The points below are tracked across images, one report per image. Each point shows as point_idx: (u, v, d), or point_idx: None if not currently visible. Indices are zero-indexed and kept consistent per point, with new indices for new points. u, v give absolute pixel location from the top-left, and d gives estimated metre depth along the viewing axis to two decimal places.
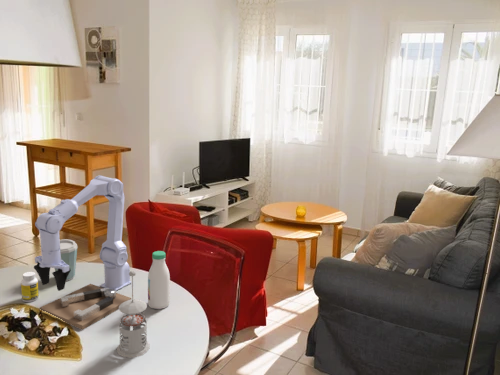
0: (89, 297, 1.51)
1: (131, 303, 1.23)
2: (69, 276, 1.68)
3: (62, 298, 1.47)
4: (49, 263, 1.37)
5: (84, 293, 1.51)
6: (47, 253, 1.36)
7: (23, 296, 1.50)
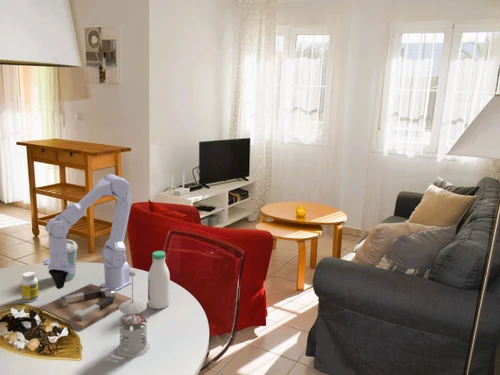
0: (89, 297, 1.51)
1: (131, 303, 1.23)
2: (69, 276, 1.68)
3: (62, 298, 1.47)
4: (57, 265, 1.47)
5: (84, 293, 1.51)
6: (55, 256, 1.46)
7: (23, 296, 1.50)
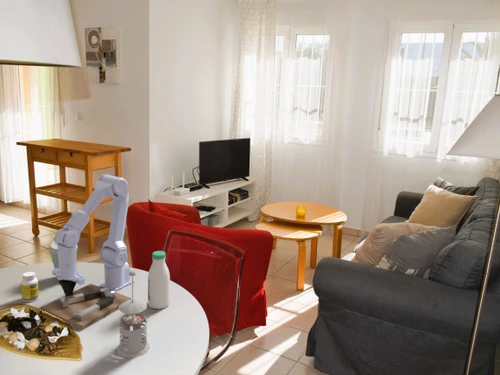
0: (89, 297, 1.51)
1: (131, 303, 1.23)
2: None
3: (62, 299, 1.46)
4: (66, 275, 1.45)
5: (84, 294, 1.50)
6: (64, 266, 1.44)
7: (23, 296, 1.50)
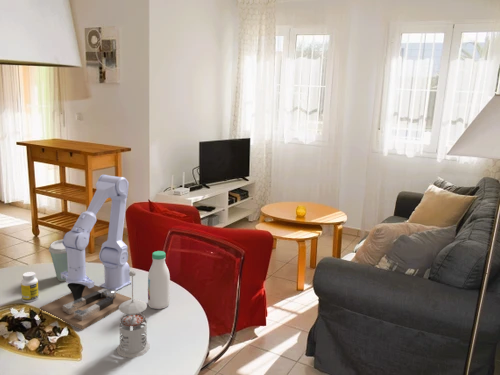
0: (90, 301, 1.49)
1: (131, 303, 1.23)
2: None
3: (66, 306, 1.42)
4: (75, 279, 1.43)
5: (85, 297, 1.48)
6: (73, 269, 1.42)
7: (23, 296, 1.50)
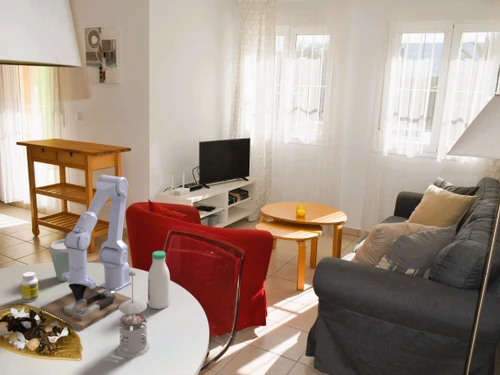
0: (91, 301, 1.48)
1: (131, 303, 1.23)
2: None
3: (68, 307, 1.41)
4: (77, 279, 1.43)
5: (85, 298, 1.47)
6: (75, 270, 1.42)
7: (23, 296, 1.50)
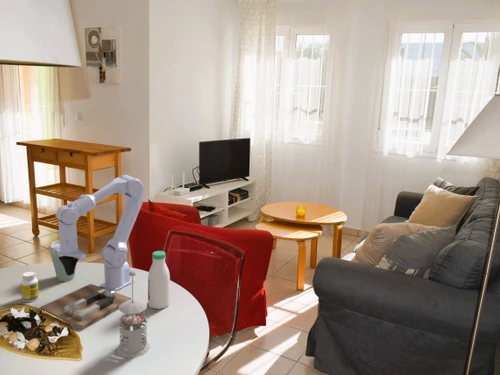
0: (91, 301, 1.48)
1: (131, 303, 1.23)
2: (69, 276, 1.68)
3: (68, 307, 1.41)
4: (67, 252, 1.48)
5: (85, 298, 1.47)
6: (65, 243, 1.47)
7: (23, 296, 1.50)
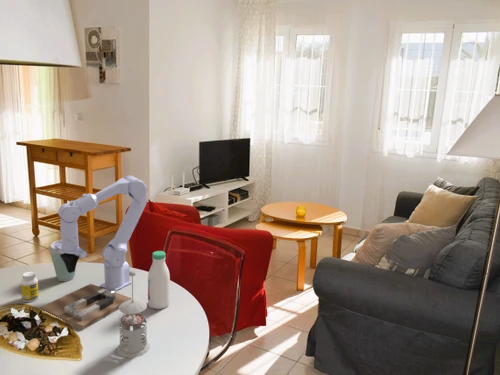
0: (91, 301, 1.48)
1: (131, 303, 1.23)
2: (69, 276, 1.68)
3: (68, 307, 1.41)
4: (69, 249, 1.50)
5: (85, 298, 1.47)
6: (66, 240, 1.49)
7: (23, 296, 1.50)
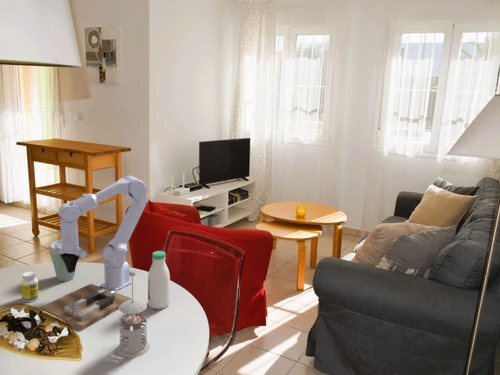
0: (91, 301, 1.48)
1: (131, 303, 1.23)
2: (69, 276, 1.68)
3: (68, 307, 1.41)
4: (69, 249, 1.50)
5: (85, 298, 1.47)
6: (66, 240, 1.49)
7: (23, 296, 1.50)
